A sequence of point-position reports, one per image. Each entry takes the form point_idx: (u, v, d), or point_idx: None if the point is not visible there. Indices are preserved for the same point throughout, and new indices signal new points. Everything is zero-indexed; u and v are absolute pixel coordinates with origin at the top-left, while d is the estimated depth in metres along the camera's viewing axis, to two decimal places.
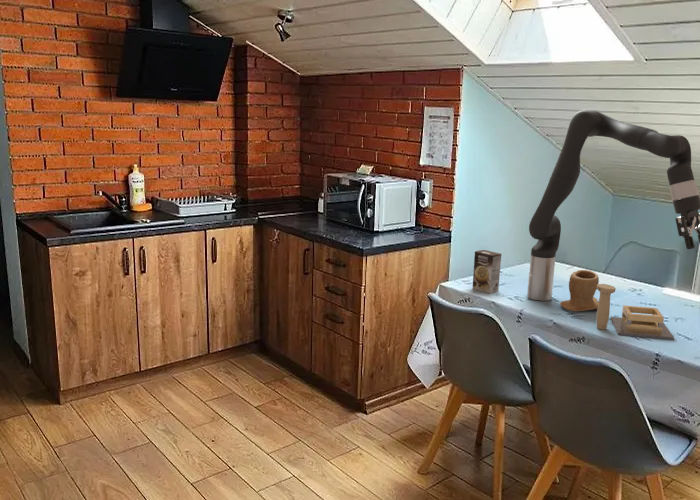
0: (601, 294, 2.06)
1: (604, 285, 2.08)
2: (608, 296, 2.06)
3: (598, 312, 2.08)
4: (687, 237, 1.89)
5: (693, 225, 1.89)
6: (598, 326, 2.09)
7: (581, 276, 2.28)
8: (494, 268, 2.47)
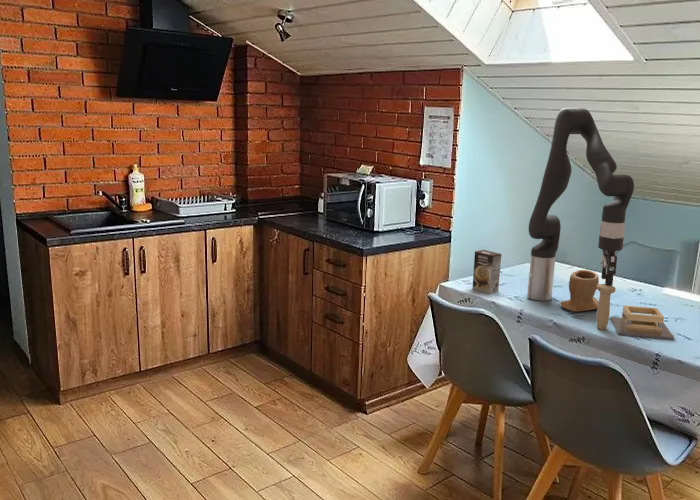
0: (601, 294, 2.06)
1: (604, 285, 2.08)
2: (608, 296, 2.06)
3: (598, 312, 2.08)
4: (611, 275, 2.00)
5: None
6: (598, 326, 2.09)
7: (581, 276, 2.28)
8: (494, 268, 2.47)
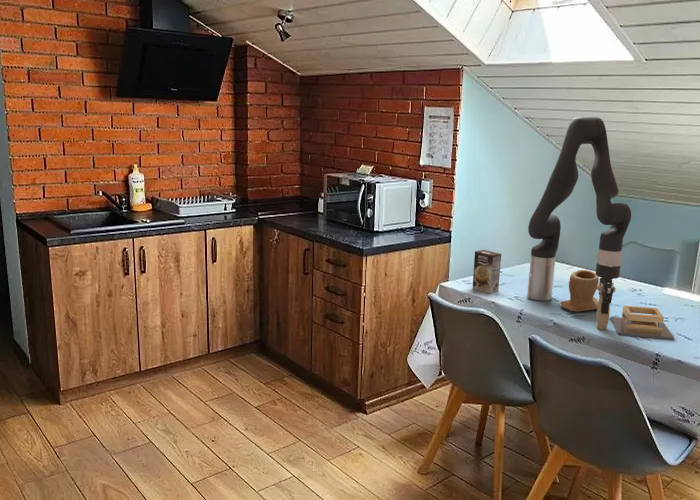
0: None
1: None
2: None
3: (598, 312, 2.08)
4: (606, 304, 2.05)
5: None
6: (598, 326, 2.09)
7: (581, 276, 2.28)
8: (494, 268, 2.47)
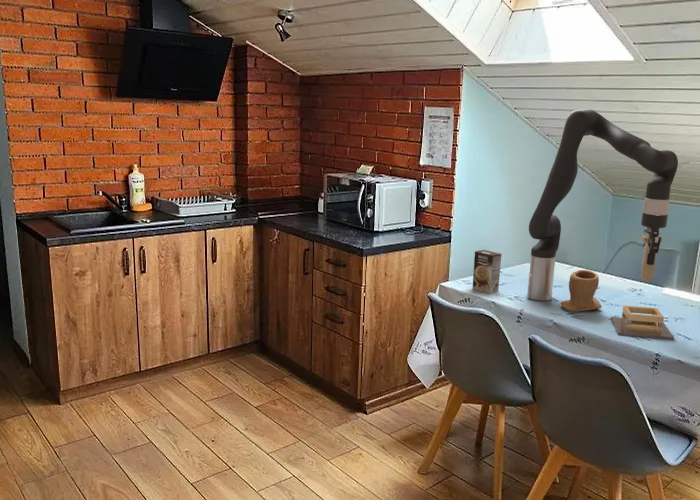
0: None
1: None
2: None
3: (643, 264, 2.04)
4: (653, 255, 2.01)
5: None
6: (643, 278, 2.05)
7: (581, 276, 2.28)
8: (494, 268, 2.47)
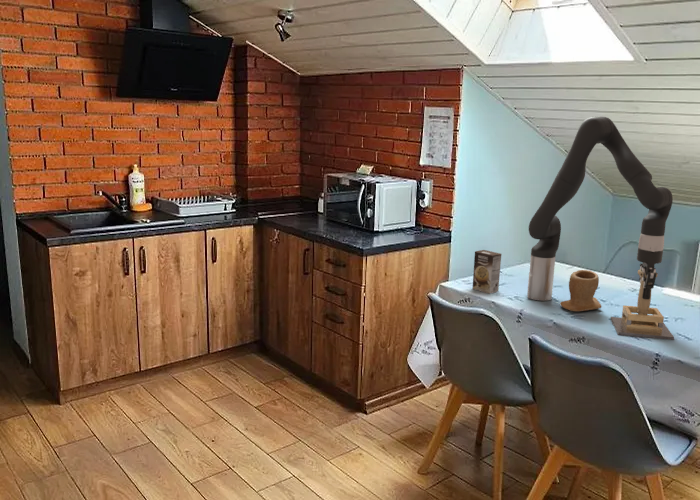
0: None
1: None
2: None
3: (639, 298, 2.07)
4: (648, 289, 2.03)
5: None
6: (639, 312, 2.07)
7: (581, 276, 2.28)
8: (494, 268, 2.47)
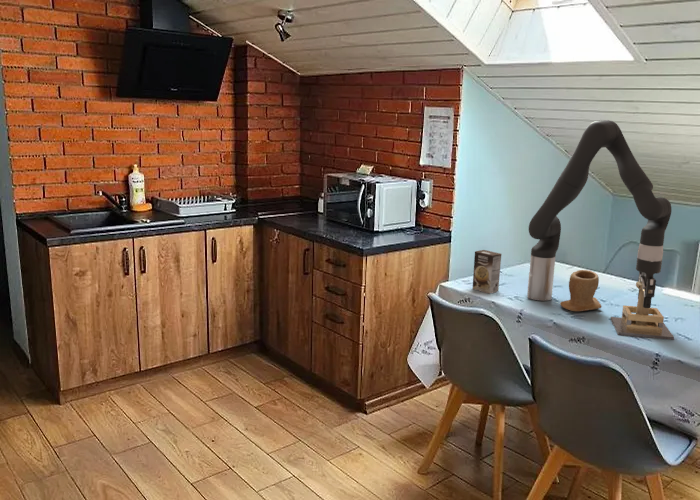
0: (641, 292, 2.06)
1: None
2: None
3: (637, 310, 2.08)
4: (649, 298, 2.02)
5: None
6: (637, 324, 2.09)
7: (581, 276, 2.28)
8: (494, 268, 2.47)
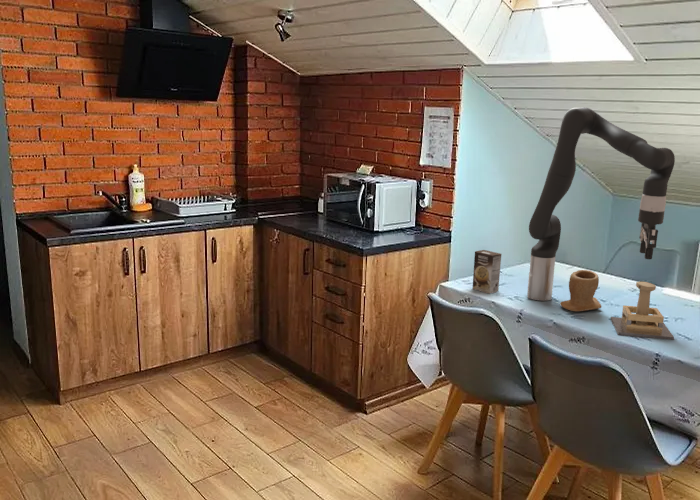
0: (641, 292, 2.06)
1: (644, 283, 2.07)
2: (649, 293, 2.05)
3: (637, 310, 2.08)
4: (651, 249, 2.01)
5: None
6: (637, 324, 2.09)
7: (581, 276, 2.28)
8: (494, 268, 2.47)
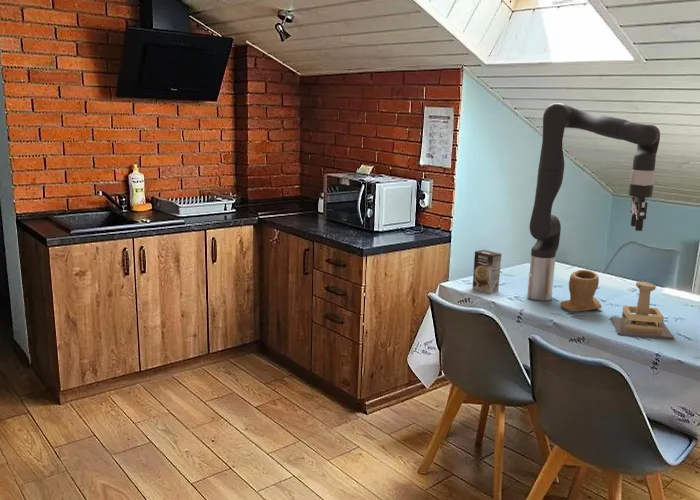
0: (641, 292, 2.06)
1: (644, 283, 2.07)
2: (649, 293, 2.05)
3: (637, 310, 2.08)
4: (641, 220, 2.12)
5: None
6: (637, 324, 2.09)
7: (581, 276, 2.28)
8: (494, 268, 2.47)
